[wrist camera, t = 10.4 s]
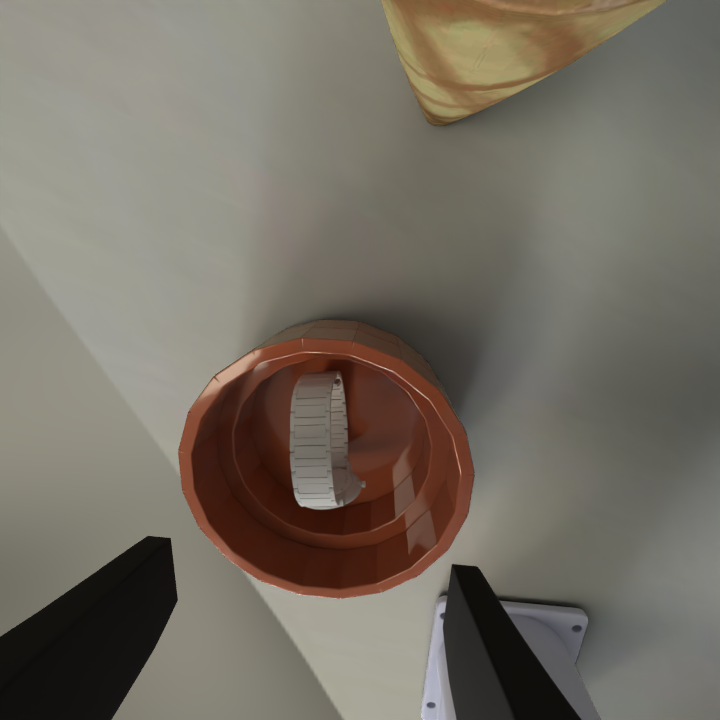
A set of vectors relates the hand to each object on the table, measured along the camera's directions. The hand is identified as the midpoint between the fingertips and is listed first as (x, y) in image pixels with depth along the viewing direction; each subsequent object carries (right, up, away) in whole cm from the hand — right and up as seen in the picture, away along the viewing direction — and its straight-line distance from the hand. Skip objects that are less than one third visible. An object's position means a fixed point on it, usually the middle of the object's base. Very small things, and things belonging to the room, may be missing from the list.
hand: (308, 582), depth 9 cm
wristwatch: (0, +3, +7) cm, 8 cm away
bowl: (0, +2, +8) cm, 8 cm away
